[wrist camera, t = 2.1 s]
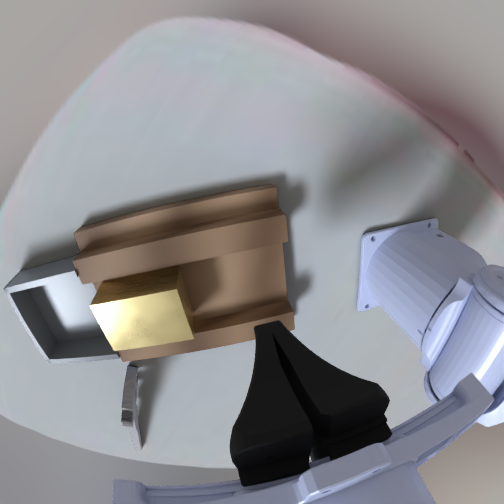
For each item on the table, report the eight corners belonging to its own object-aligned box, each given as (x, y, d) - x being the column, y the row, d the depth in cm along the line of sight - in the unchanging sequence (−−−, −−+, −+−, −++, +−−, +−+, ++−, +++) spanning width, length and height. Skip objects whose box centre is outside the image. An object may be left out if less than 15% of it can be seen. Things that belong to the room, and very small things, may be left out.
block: (179, 265, 18) (176, 289, 15) (193, 312, 20) (194, 339, 17) (101, 281, 17) (89, 305, 15) (121, 324, 19) (114, 350, 16)
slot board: (271, 184, 18) (283, 192, 16) (285, 321, 23) (295, 341, 21) (79, 227, 17) (65, 241, 14) (133, 351, 22) (129, 372, 19)
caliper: (127, 361, 22) (118, 413, 17) (138, 363, 23) (131, 416, 17) (135, 444, 30) (134, 479, 24) (142, 445, 30) (142, 480, 24)
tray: (88, 252, 17) (74, 270, 15) (125, 335, 21) (119, 358, 18) (19, 271, 17) (3, 288, 14) (57, 343, 20) (48, 363, 17)
